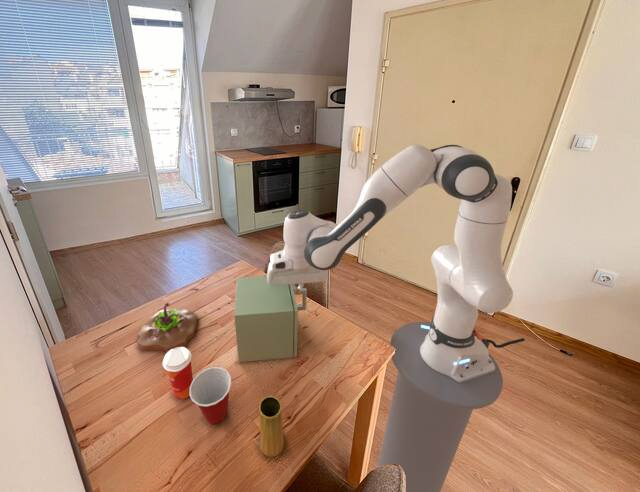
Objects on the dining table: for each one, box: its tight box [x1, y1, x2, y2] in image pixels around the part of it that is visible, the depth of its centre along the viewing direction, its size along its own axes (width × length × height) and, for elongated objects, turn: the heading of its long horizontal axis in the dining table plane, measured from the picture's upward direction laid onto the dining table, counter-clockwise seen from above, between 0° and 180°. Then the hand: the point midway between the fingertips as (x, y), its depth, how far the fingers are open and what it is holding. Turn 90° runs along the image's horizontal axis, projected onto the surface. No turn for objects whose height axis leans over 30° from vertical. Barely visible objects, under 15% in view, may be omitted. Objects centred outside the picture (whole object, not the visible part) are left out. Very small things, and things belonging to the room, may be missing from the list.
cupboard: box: [233, 275, 294, 363], centre depth 101 cm, size 18×20×20 cm
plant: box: [136, 301, 199, 353], centre depth 106 cm, size 20×20×11 cm
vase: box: [258, 395, 285, 458], centre depth 71 cm, size 6×6×14 cm
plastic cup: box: [189, 366, 232, 425], centre depth 78 cm, size 11×11×12 cm
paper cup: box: [162, 346, 194, 400], centre depth 84 cm, size 8×8×14 cm
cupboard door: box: [289, 284, 308, 358], centre depth 102 cm, size 7×20×19 cm, turn 5°
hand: (296, 292), depth 101 cm, fingers closed
